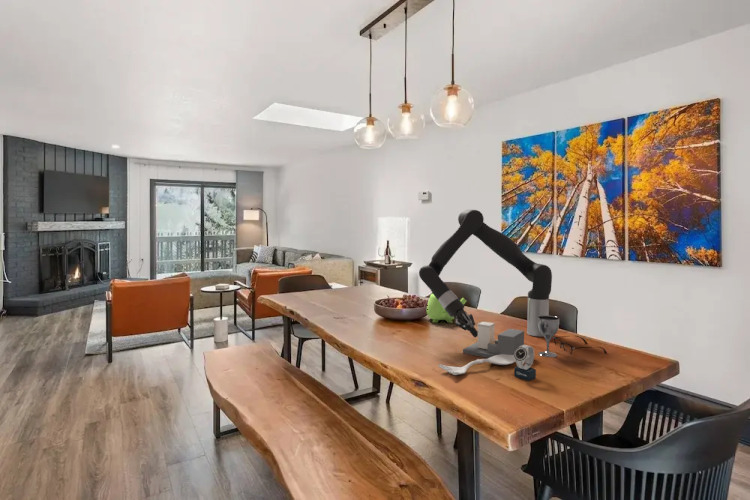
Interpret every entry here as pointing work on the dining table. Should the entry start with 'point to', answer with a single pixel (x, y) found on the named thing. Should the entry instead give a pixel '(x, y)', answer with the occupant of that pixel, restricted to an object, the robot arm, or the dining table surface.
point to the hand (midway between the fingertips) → (477, 336)
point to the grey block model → (499, 344)
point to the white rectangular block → (485, 334)
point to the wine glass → (548, 331)
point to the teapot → (439, 310)
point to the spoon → (496, 359)
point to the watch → (520, 358)
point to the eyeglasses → (572, 346)
